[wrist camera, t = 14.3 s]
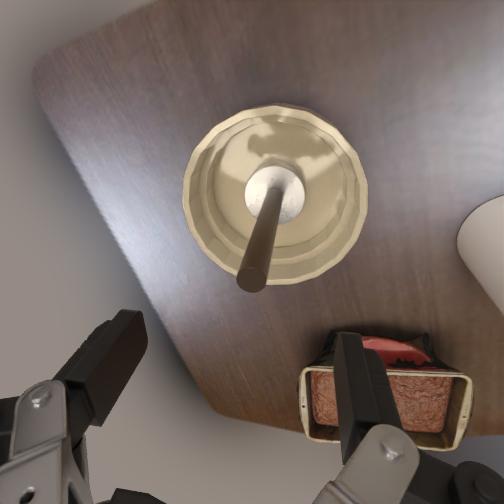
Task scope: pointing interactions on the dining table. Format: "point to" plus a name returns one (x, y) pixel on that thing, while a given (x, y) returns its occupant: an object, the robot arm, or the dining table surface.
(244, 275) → the rod with silver disc
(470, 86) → the dining table surface
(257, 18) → the dining table surface
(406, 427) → the baking dish
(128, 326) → the robot arm
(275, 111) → the bowl
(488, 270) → the white cup
